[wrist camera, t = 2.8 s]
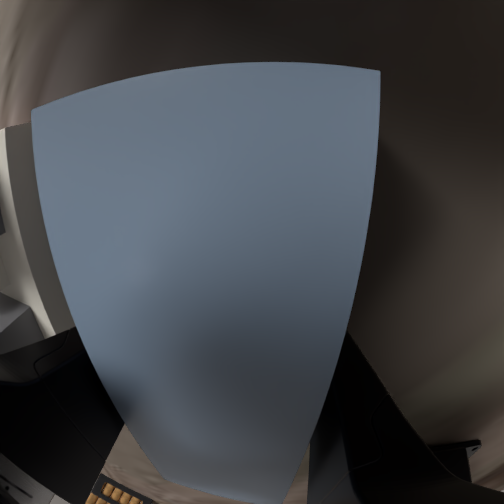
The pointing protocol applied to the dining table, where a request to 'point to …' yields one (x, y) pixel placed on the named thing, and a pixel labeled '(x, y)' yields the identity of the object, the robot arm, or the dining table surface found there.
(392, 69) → the dining table surface
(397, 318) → the dining table surface
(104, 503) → the ammunition clip
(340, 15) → the dining table surface
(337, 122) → the blue tapered block
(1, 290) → the white grey bracket mount
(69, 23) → the dining table surface
